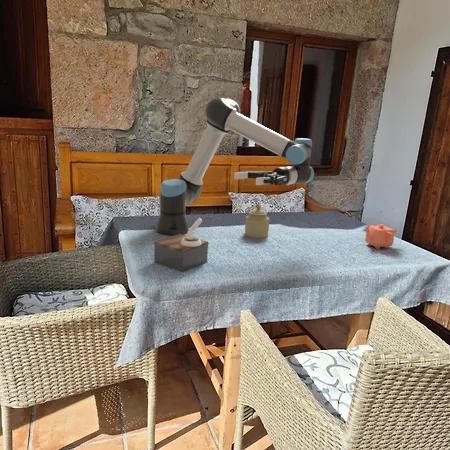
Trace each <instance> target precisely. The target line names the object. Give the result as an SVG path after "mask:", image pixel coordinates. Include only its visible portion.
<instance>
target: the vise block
mask: <svg viewBox="0 0 450 450" xmlns="http://www.w3.org/2000/svg"><path fill="white" fill-rule="evenodd" d="M184 237H188V236H187V234H178V235H170V236H169V237H166V238H162V239H159V240H156V241H154V251H153V252H154V259H153V261H154V262H153V263H156V264H159V265H162V266H164V267H166V268H167V267H168V268H170V269H174V270H176V271H179V272H181V273H184V272H186V271H189V270H191V269H193V268H196V267H198V266H201V265H203V264H205V263H208V256H209V255H208V253H209V241H207V240H204V239H200V240H201V243H202V244H201V245H199V246H195V247H189V246H184V245H182V244H181V240H182V239H183V238H184ZM188 241H190V242H194V241H193V240H188Z"/></svg>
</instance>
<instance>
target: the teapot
mask: <svg viewBox="0 0 450 450" xmlns="http://www.w3.org/2000/svg"><path fill="white" fill-rule="evenodd" d="M364 229H365V230H366V233H365V237H364V240H365V243H367V245H368V246H369V245H372V246H373V247H374V248H376V250H380V249H381V248H384V249H389V247H392V246H393V244H394V241H395V234H396V233H397V230H396V229H395V228H390V227H389V226H386V225H384V224H382V223H380V224H378V225H372V224H370V225H369V226H368V227H366V226H364Z"/></svg>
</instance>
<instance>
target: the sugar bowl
mask: <svg viewBox="0 0 450 450" xmlns="http://www.w3.org/2000/svg"><path fill="white" fill-rule="evenodd" d="M267 215H268V212H266V211H265V210H264V209H261V204H260V203H258V204H256V207H255V208H253V209H252V210H250V211H249V212H248V215H246V216H245V223H244V236H246V237H248V238H252V239H265V238H267V237H268V236H269V230H270V229H269V228H270V217H269V216H267Z"/></svg>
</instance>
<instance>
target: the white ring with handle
mask: <svg viewBox="0 0 450 450" xmlns="http://www.w3.org/2000/svg"><path fill="white" fill-rule="evenodd" d="M202 222H203V219H202V218H201V217H198V218H197V219H196V221H195V222H194V223H193V224H192V225H191V226H190V227H189V230H188V233H187V234H186V236H188V237H184V238H183V239H182V240H181V244H182V245H184V246H189V247H195V246H199V245H201V244H202V243H201V240H202V239H200V238H199V237H196V236H195V235H194V232H196V229H197V228H198V227H199V226H200V225H201V223H202ZM188 240H193V241H194V242H190V241H188Z"/></svg>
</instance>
